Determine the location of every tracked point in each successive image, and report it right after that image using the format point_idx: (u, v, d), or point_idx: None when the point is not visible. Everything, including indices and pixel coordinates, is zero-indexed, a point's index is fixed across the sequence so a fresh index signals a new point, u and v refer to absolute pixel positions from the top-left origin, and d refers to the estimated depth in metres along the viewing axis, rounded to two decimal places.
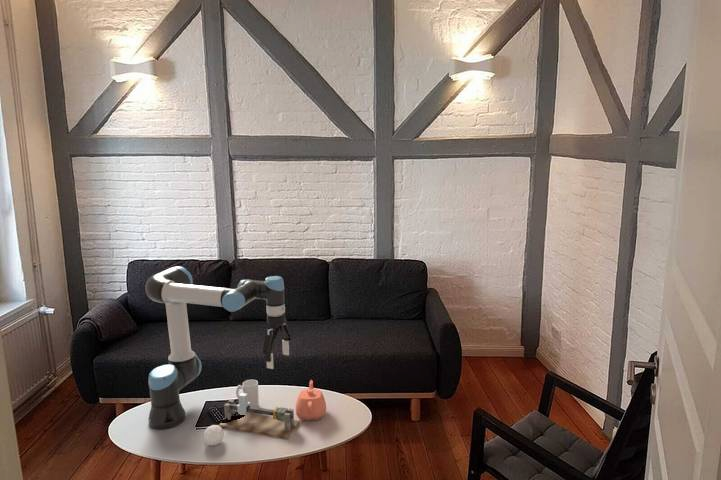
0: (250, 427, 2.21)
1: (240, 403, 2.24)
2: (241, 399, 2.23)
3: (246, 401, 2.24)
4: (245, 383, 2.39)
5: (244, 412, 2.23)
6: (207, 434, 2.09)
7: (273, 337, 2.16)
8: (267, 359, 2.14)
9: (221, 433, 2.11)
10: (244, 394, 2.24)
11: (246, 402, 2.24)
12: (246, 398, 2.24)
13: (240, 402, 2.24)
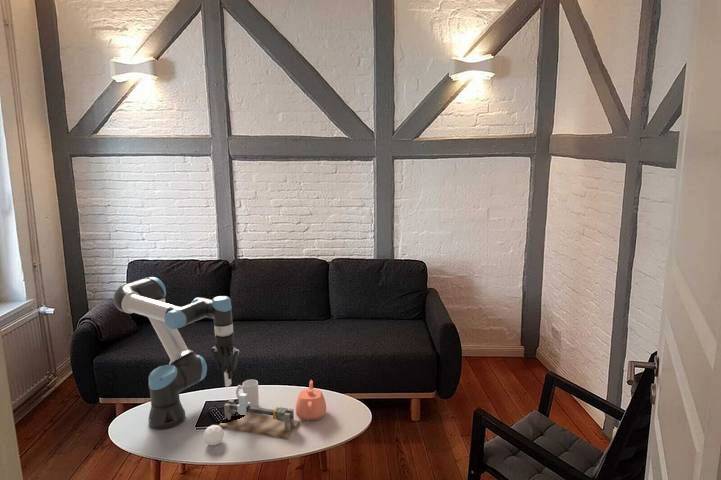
0: (250, 427, 2.21)
1: (240, 403, 2.24)
2: (241, 399, 2.23)
3: (246, 401, 2.24)
4: (245, 383, 2.39)
5: (244, 412, 2.23)
6: (207, 434, 2.09)
7: None
8: None
9: (221, 433, 2.11)
10: (244, 394, 2.24)
11: (246, 402, 2.24)
12: (246, 398, 2.24)
13: (240, 402, 2.24)
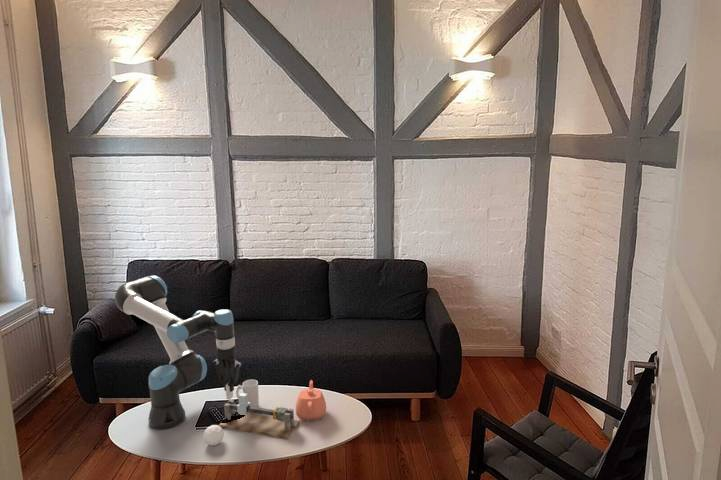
0: (250, 427, 2.21)
1: (240, 403, 2.24)
2: (241, 399, 2.23)
3: (246, 401, 2.24)
4: (245, 383, 2.39)
5: (244, 412, 2.23)
6: (207, 434, 2.09)
7: None
8: None
9: (221, 433, 2.11)
10: (244, 394, 2.24)
11: (246, 402, 2.24)
12: (246, 398, 2.24)
13: (240, 402, 2.24)
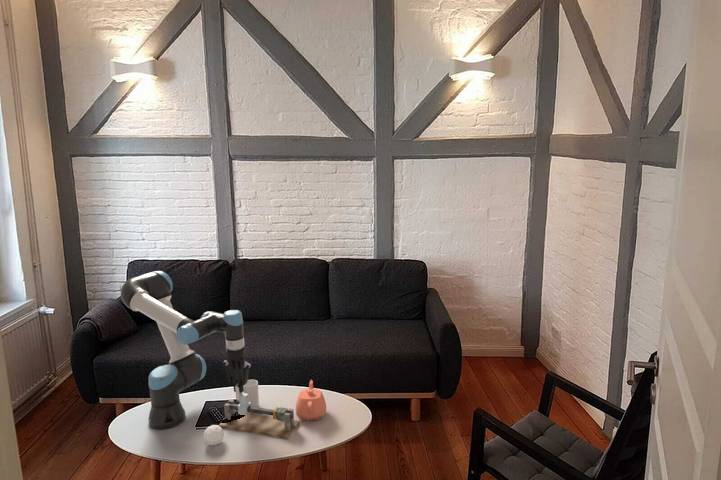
0: (250, 427, 2.21)
1: (241, 403, 2.24)
2: (242, 399, 2.23)
3: (247, 401, 2.24)
4: None
5: (245, 412, 2.23)
6: (207, 434, 2.09)
7: None
8: None
9: (221, 433, 2.11)
10: (245, 394, 2.24)
11: (247, 402, 2.24)
12: (247, 398, 2.24)
13: (241, 402, 2.24)
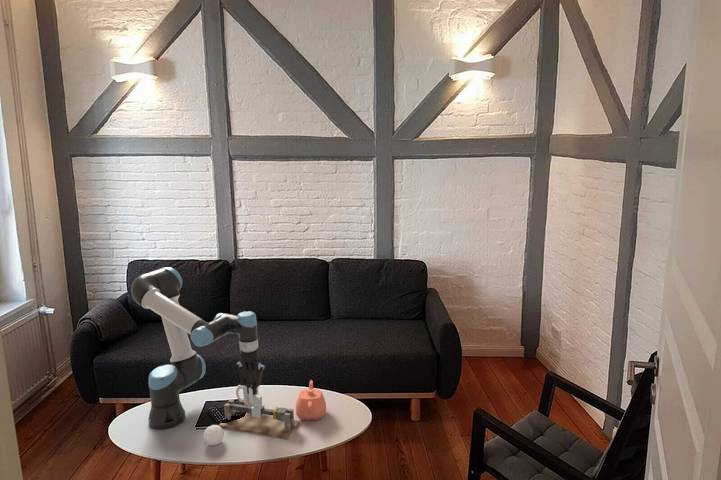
0: (250, 427, 2.21)
1: (254, 405, 2.22)
2: (256, 402, 2.21)
3: (260, 403, 2.22)
4: None
5: (258, 414, 2.21)
6: (207, 434, 2.09)
7: None
8: None
9: (221, 433, 2.11)
10: (258, 396, 2.22)
11: (260, 404, 2.22)
12: (260, 400, 2.22)
13: (254, 404, 2.22)
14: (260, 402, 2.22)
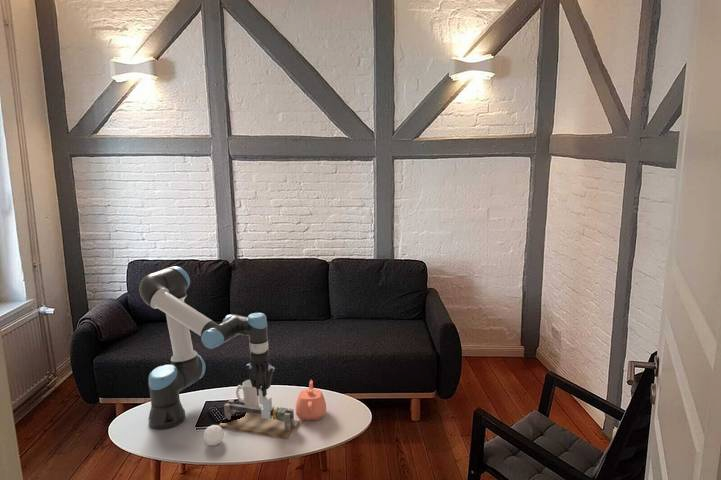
0: (250, 427, 2.21)
1: (264, 407, 2.21)
2: (265, 403, 2.20)
3: (270, 405, 2.21)
4: (245, 383, 2.39)
5: (268, 416, 2.20)
6: (207, 434, 2.09)
7: None
8: None
9: (221, 433, 2.11)
10: (268, 398, 2.21)
11: (270, 406, 2.21)
12: (270, 402, 2.21)
13: (264, 406, 2.21)
14: (270, 403, 2.21)
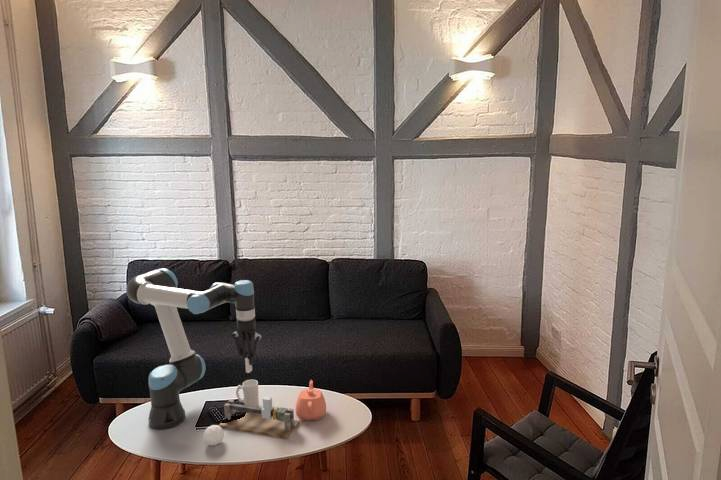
0: (250, 427, 2.21)
1: (264, 407, 2.21)
2: (266, 403, 2.20)
3: (270, 405, 2.21)
4: (245, 383, 2.39)
5: (268, 416, 2.20)
6: (207, 434, 2.09)
7: None
8: None
9: (221, 433, 2.11)
10: (268, 398, 2.21)
11: (270, 406, 2.21)
12: (270, 402, 2.21)
13: (264, 406, 2.21)
14: (270, 404, 2.21)
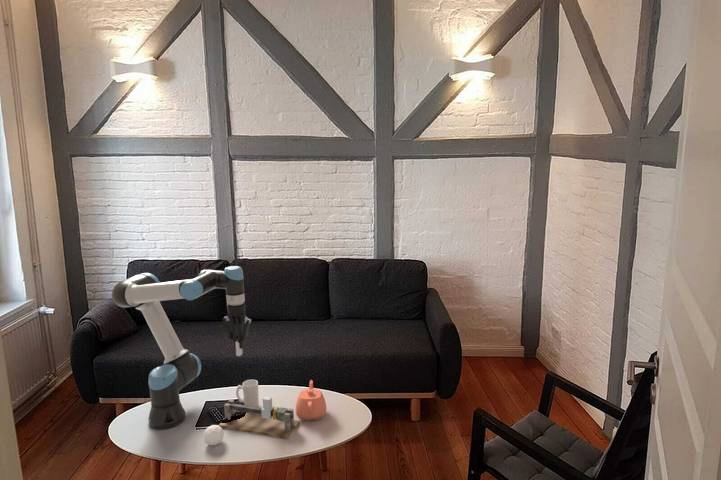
0: (250, 427, 2.21)
1: (264, 407, 2.21)
2: (266, 403, 2.20)
3: (270, 405, 2.21)
4: (245, 383, 2.39)
5: (268, 416, 2.20)
6: (207, 434, 2.09)
7: None
8: None
9: (221, 433, 2.11)
10: (268, 398, 2.21)
11: (270, 406, 2.21)
12: (270, 402, 2.21)
13: (264, 406, 2.21)
14: (270, 404, 2.21)
